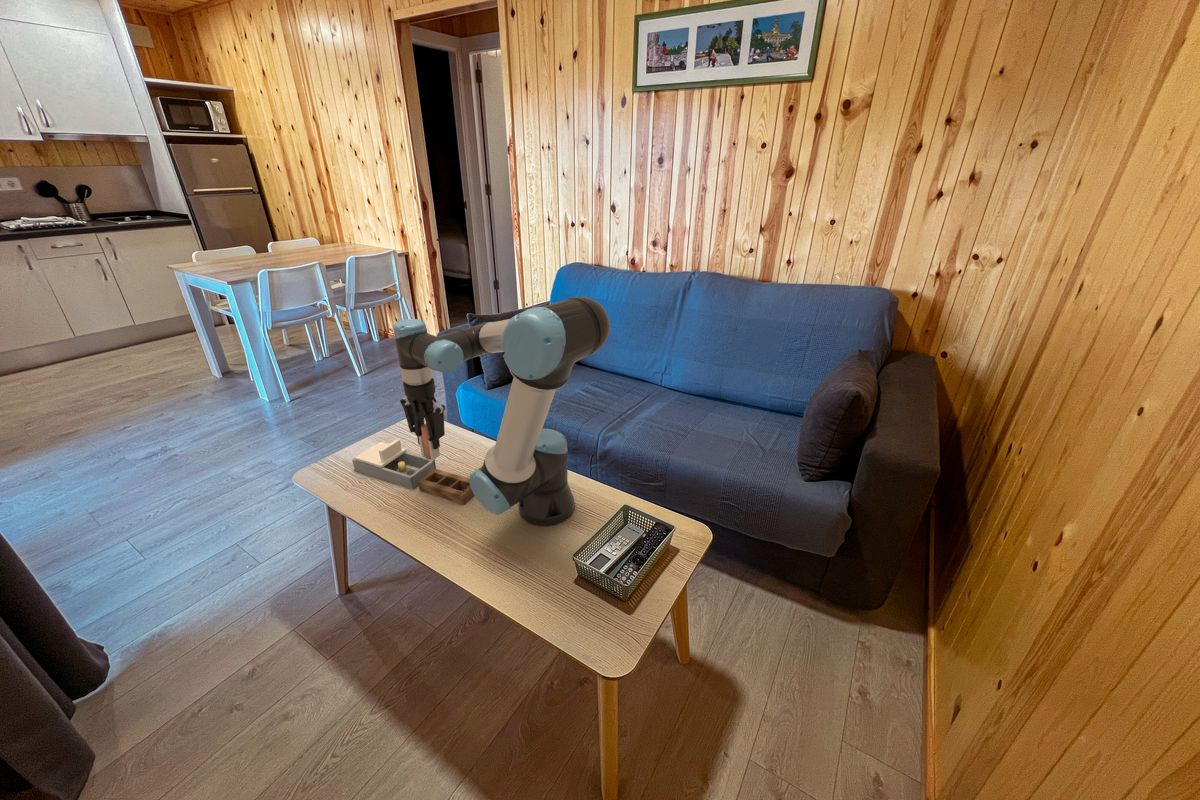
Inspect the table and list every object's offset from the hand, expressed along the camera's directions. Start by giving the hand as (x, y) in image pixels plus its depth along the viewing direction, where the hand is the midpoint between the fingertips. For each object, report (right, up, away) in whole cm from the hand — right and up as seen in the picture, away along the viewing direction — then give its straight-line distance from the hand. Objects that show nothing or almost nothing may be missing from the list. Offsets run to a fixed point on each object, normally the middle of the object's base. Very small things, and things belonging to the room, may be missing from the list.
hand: (431, 455), depth 130 cm
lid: (-19, -1, +11) cm, 22 cm away
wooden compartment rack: (+4, -10, +3) cm, 11 cm away
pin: (0, 0, 0) cm, 0 cm away
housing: (-15, -6, +11) cm, 19 cm away
